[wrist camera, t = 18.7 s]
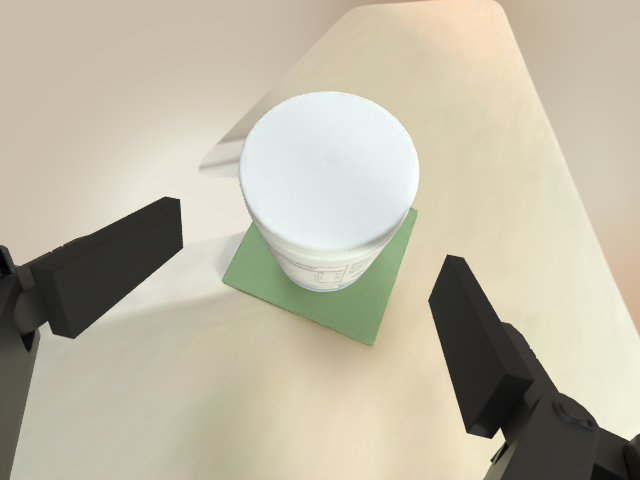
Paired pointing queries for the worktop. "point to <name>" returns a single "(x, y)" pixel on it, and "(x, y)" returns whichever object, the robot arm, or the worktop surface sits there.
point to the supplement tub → (327, 185)
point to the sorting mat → (322, 307)
